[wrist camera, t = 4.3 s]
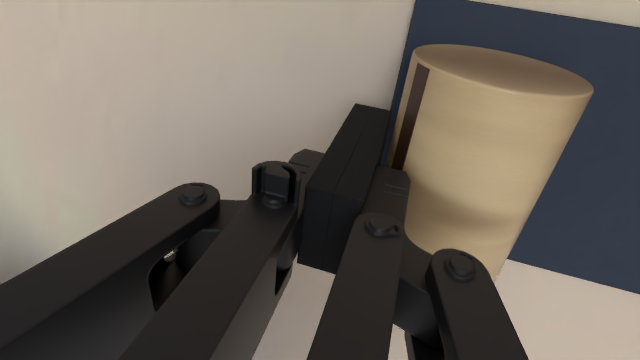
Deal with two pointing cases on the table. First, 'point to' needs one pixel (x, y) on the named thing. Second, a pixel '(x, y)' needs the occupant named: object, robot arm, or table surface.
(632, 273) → the board
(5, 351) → the robot arm
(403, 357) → the table surface
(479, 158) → the roller
